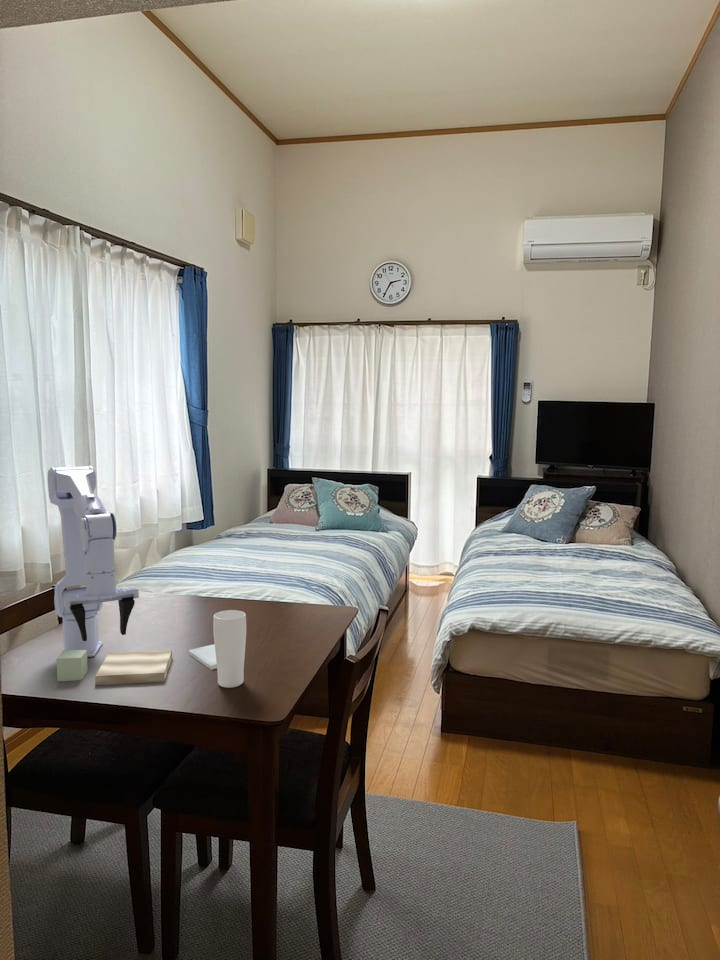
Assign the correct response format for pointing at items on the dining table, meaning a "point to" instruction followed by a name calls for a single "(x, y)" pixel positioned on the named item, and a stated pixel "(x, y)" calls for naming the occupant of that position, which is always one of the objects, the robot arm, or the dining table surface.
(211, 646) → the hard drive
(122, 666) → the birch base
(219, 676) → the drinking glass
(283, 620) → the dining table surface
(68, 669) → the sage cube
